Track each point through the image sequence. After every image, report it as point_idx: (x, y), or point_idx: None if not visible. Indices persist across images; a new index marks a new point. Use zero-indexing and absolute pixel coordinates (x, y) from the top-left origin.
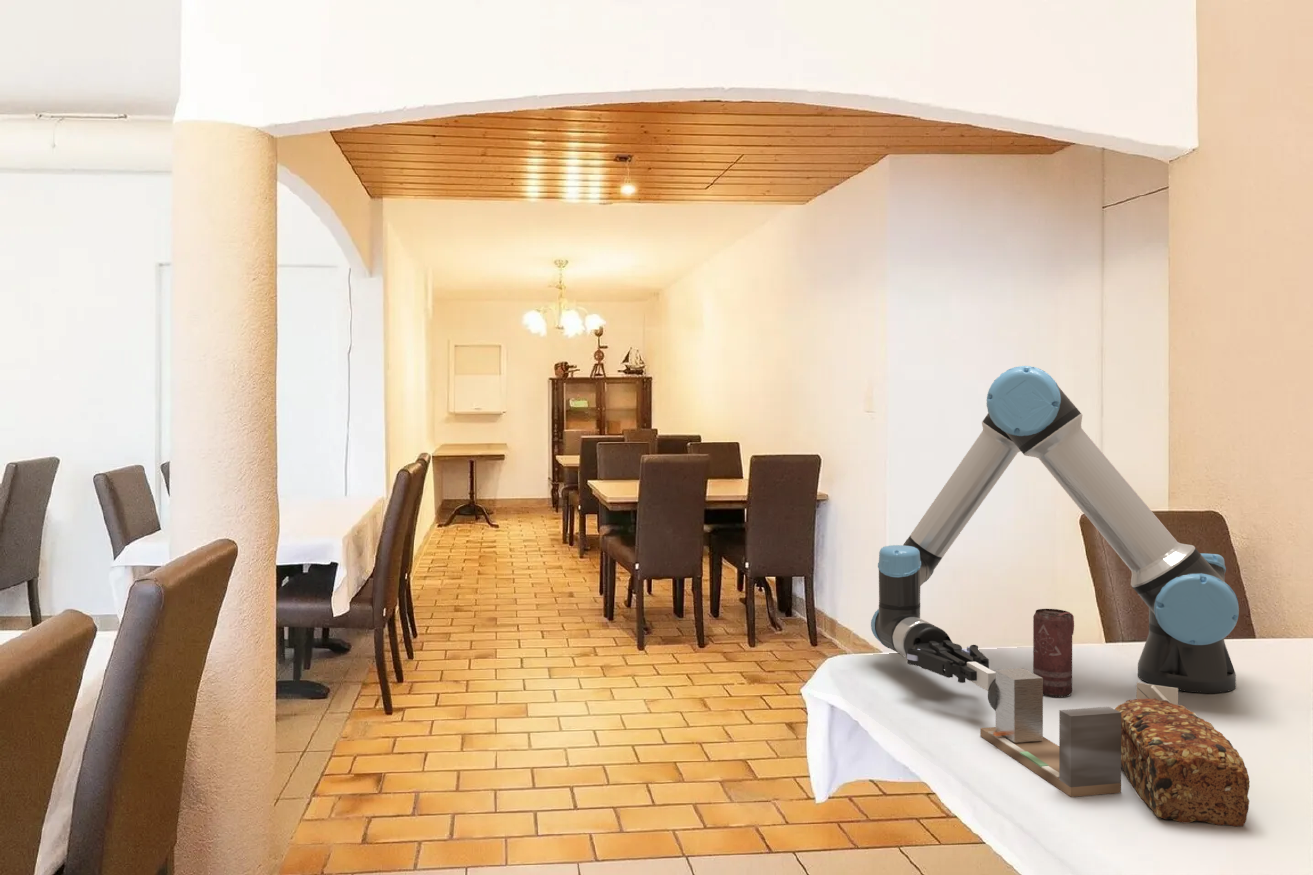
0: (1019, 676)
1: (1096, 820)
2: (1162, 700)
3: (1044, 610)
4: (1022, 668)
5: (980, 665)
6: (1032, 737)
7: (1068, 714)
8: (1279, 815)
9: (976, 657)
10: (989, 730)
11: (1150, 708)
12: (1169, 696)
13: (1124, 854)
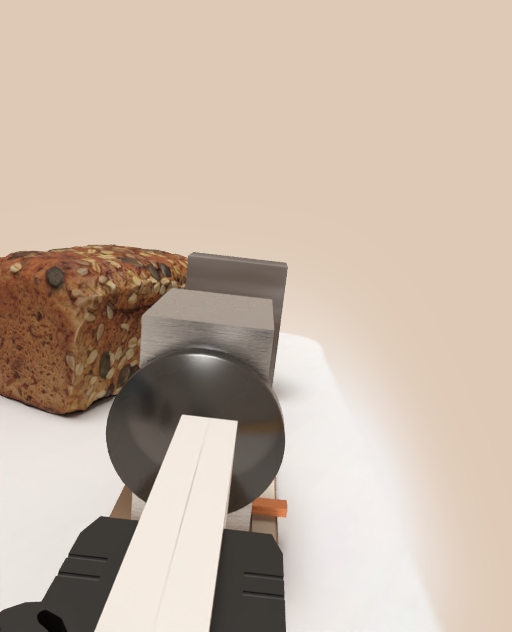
0: (234, 301)
1: (280, 363)
2: (33, 251)
3: None
4: (147, 315)
5: (159, 525)
6: None
7: (285, 263)
8: None
9: (63, 615)
10: None
11: (98, 256)
12: None
13: (298, 341)
